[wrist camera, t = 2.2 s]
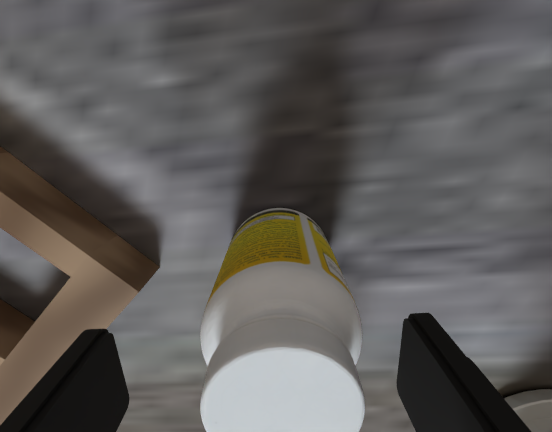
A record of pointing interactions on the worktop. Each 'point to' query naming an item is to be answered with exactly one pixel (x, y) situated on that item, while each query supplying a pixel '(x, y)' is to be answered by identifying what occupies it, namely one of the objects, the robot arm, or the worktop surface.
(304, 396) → the pill bottle
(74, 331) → the socket rack
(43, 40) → the worktop surface
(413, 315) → the robot arm
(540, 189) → the worktop surface
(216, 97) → the worktop surface
